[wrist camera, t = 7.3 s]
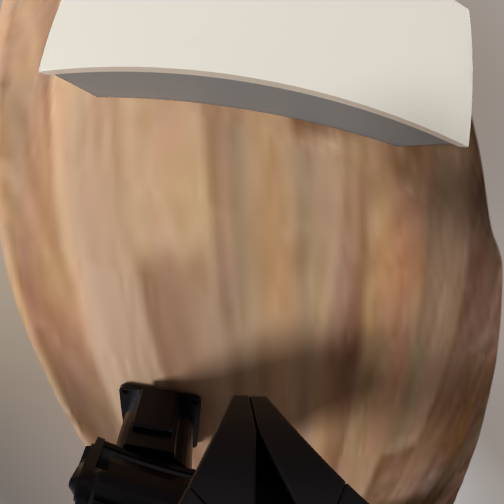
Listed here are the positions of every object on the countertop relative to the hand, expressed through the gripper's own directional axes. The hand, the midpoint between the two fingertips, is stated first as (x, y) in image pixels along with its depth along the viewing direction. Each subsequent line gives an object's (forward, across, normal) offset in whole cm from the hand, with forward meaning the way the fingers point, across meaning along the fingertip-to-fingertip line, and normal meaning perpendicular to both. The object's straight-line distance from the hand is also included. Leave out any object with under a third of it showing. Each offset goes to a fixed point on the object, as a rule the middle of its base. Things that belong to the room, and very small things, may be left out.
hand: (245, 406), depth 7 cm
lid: (+7, 0, -14) cm, 15 cm away
